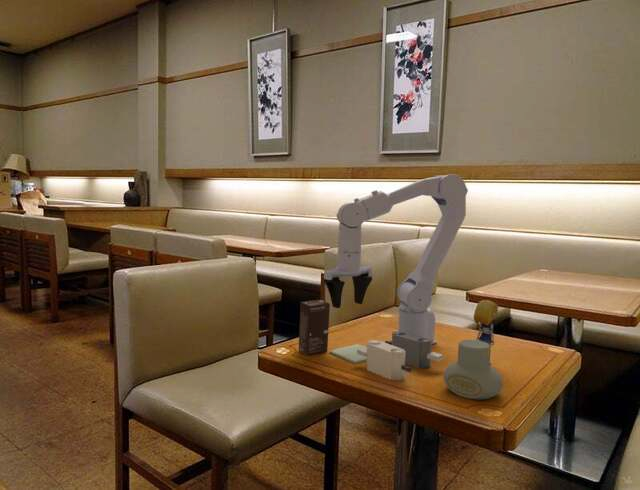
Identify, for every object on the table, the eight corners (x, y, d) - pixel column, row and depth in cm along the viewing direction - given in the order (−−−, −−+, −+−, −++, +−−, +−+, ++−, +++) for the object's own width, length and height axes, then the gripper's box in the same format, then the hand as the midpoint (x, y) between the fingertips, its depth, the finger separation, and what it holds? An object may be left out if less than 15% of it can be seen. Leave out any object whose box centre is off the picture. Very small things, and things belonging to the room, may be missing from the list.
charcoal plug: (380, 356, 113) (381, 331, 112) (389, 353, 116) (391, 328, 115) (435, 373, 103) (436, 346, 102) (443, 369, 106) (445, 342, 105)
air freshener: (435, 392, 93) (438, 342, 92) (454, 380, 100) (456, 333, 98) (491, 409, 86) (495, 356, 85) (507, 395, 93) (511, 345, 92)
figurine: (498, 365, 109) (502, 300, 107) (483, 370, 106) (487, 303, 104) (481, 359, 113) (485, 296, 111) (466, 363, 110) (470, 299, 108)
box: (308, 356, 112) (309, 305, 111) (298, 350, 116) (299, 301, 114) (329, 352, 115) (330, 302, 114) (319, 346, 119) (320, 299, 118)
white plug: (415, 382, 98) (416, 354, 97) (403, 386, 96) (404, 357, 95) (365, 362, 109) (366, 336, 108) (354, 365, 107) (355, 339, 106)
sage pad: (357, 345, 120) (357, 343, 120) (383, 356, 113) (383, 353, 113) (329, 352, 115) (329, 350, 115) (355, 363, 108) (355, 361, 108)
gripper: (359, 248, 127) (357, 298, 128) (316, 251, 118) (315, 305, 119) (378, 251, 122) (376, 303, 123) (335, 254, 112) (333, 311, 114)
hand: (347, 305), depth 121 cm, fingers open, 7 cm apart
